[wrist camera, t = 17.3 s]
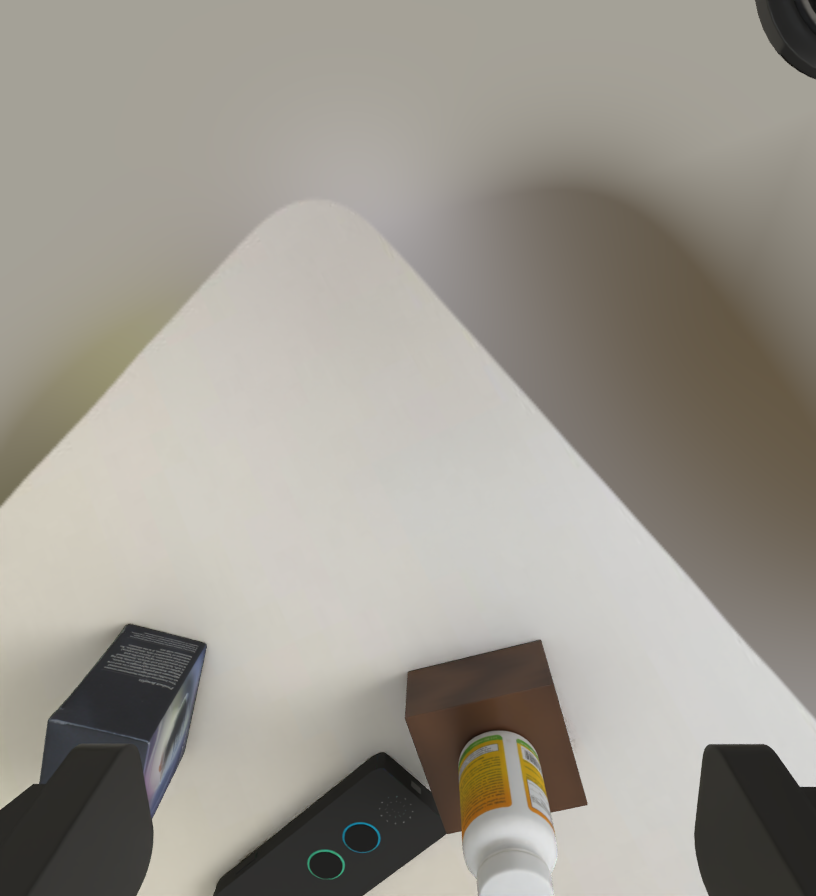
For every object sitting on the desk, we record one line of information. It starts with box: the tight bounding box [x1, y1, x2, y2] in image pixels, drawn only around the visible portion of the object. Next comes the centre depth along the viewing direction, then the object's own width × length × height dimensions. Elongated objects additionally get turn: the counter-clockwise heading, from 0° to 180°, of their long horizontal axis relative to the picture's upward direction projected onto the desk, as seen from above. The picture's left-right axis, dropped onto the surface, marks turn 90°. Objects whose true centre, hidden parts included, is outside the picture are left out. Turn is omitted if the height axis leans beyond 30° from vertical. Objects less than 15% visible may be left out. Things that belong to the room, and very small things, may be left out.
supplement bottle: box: [458, 731, 558, 896], centre depth 38 cm, size 5×5×10 cm
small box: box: [39, 624, 207, 818], centre depth 43 cm, size 11×6×10 cm, turn 165°
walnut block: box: [405, 640, 587, 834], centre depth 45 cm, size 10×10×5 cm
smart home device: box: [213, 753, 446, 896], centre depth 51 cm, size 8×2×20 cm
